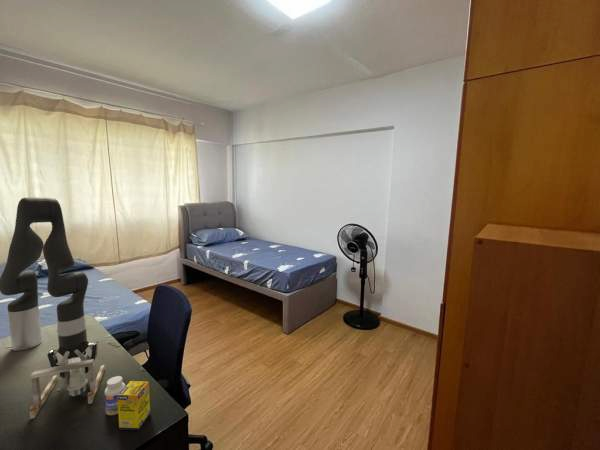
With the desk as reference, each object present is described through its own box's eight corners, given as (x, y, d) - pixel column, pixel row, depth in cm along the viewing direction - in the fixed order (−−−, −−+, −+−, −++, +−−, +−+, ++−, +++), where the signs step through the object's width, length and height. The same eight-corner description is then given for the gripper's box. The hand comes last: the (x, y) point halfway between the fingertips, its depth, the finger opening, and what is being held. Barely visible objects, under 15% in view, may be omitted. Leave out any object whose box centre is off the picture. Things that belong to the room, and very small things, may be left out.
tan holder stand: (53, 381, 96) (50, 349, 95) (105, 369, 103) (103, 339, 101) (29, 419, 80) (24, 381, 78) (93, 402, 86) (90, 367, 85)
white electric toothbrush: (81, 348, 106) (87, 371, 88) (83, 365, 106) (89, 391, 88) (64, 353, 103) (66, 378, 84) (65, 371, 103) (68, 399, 84)
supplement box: (139, 430, 77) (137, 395, 75) (118, 430, 77) (116, 395, 75) (151, 413, 82) (149, 380, 81) (131, 413, 83) (129, 380, 81)
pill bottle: (104, 418, 81) (102, 388, 79) (107, 405, 85) (105, 377, 84) (125, 411, 83) (123, 382, 82) (127, 400, 88) (125, 372, 87)
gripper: (100, 321, 100) (103, 363, 102) (49, 328, 94) (54, 373, 96) (94, 330, 93) (98, 375, 95) (40, 339, 87) (45, 387, 89)
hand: (76, 374), depth 95 cm, fingers closed on white electric toothbrush, 5 cm apart
